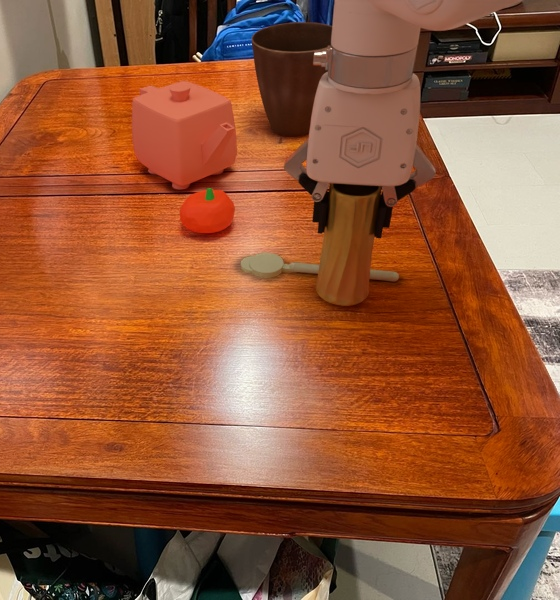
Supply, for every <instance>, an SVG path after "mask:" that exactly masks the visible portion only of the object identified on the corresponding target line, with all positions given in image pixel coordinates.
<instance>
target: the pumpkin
mask: <svg viewBox="0 0 560 600" xmlns="http://www.w3.org/2000/svg"><path fill="white" fill-rule="evenodd" d="M235 211H236V206H235V204H234V201H233V200H232V198H231V197H230V196H229V195H228V194H227V193H226V192H225V191H223V190H222V189H213V188H212V187H211V188H209V187H207V188H206V189H204V190H201V191H197V192H194V193H192V194H190V195H189V196H187V197H186V199H185V200H184V202H183V203H182V205H181V206H180V209H179V221H180V222H181V224H182V225H183V226H184V227H185V228H186V229H187V230H189V231H192V232H194V233H197V234H214V233H219V232H222V231H224V230H226V229H227V228H228V227H229V226H231V225H232V222H233V221H234V216H235Z"/></svg>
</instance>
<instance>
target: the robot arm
mask: <svg viewBox="0 0 560 600" xmlns="http://www.w3.org/2000/svg"><path fill="white" fill-rule="evenodd" d="M524 1H525V0H334V1H333V2H334V3H333V12H332V13H333V14H332V25H331V26H332V36H331V46H328V47H327V49H323V51H322V50H315V51H314V59H313V65H321V67H325V70H328V72H326V73H325V74H323V76H322V77H321V79H320V81H319V84H318V88H317V91H316V95H315V99H314V105H313V110H312V116H311V124H310V131H309V133H308V138H307V139H306V140H305V141H303V143H301V144H300V145H299V147H297V148H296V149H295V150H294V151H293V152H292V153H291V154H290V155H289V156H288V157H286V159H285V160H284V163H283V170H284V171H285V172H286V173H287V174H288V175H290V176H291V178H293V179H294V180H297V182H298V184H299V185H300V186H301V188H302V189H304V190H305V191H306V192H307V193H308V194H309V195H310V197H311V200H312V201H313V207H312V208H313V210H312V220H311V221H312V223H317V224H318V225H317V234H319V235H320V234H321V235H322V234H324V231H325V223H326V214H327V205H328V196H329V186H330V183H337V184H353V185H370V186H381V187H382V189H381V196H380V201H379V207H378V214H377V220H376V227H375V233H374V238H375V239H382V237H383V229H390V227H391V220H392V216H393V211H394V210H393V209H394V207H395V206H396V205H398V202H399V201H401V200H402V199H403V198H405V197H406V196H408V195H410V194H411V193H413V192H414V191H415V190H416V188H418V187H421V186H423V185H424V184H426V183H428V182H430V181H432V180H434V178H435V177H436V168H435V166H434V165H433V163H432V161H430V159H429V158H428V157H427V156H426V154H425V152H424V151H423V150H422V149H421V148H420V146H419V144H418V143H417V141H418V134H419V133H418V131H419V125H420V113H421V82H420V80H419V77H418V75H416V73H414V69H415V65H416V64H415V63H416V57H417V52H418V46H419V39H420V34H421V29H424V30H428V31H434V32H442V31H443V32H445V31H449V30H454V29H457V28H461V27H463V26H465V25H467V24H470V23H473V22H475V21H477V20H480V19H482V18H484V17H486V16H489V15H491V14H494V13H496V12H498V11H501V10H503V9H505V8H508V7H510V6H513V5H516V4H518V3H521V2H524ZM305 161H306V165H303V164H304V162H305ZM305 166H306V167H305ZM413 167H414V169H415V170H414V171H413Z"/></svg>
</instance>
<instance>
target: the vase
mask: <svg viewBox="0 0 560 600" xmlns="http://www.w3.org/2000/svg"><path fill="white" fill-rule="evenodd" d="M328 191H329V196H328V205H327V214H326V223H325V231H324V233H323V237H322V246H321V252H320V258H319V271H318V274H317V279H316V282H315V291H316V294H317V295H318V296H319V298H321V299H322V300H323V301H325V302H327V303H329V304H332V305H336V306H339V307H340V306H342V307H351V306H355V305H358V304H360V303H362V302H364V301H366V299H367V298H368V296H369V293H370V279H369V278H370V269H372V257H373V250H374V244H375V243H374V242H375V237H374V233H375V227H376V220H377V214H378V207H379V201H380V196H381V193H382V187H381V186H370V185H353V184H337V183H330V185H329V187H328Z"/></svg>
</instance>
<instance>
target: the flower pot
mask: <svg viewBox="0 0 560 600" xmlns="http://www.w3.org/2000/svg"><path fill="white" fill-rule="evenodd" d="M331 36H332V25H330V24H325V23H320V22H311V21H310V22H309V21H307V22H306V21H298V22H296V21H295V22H285V23H278V24H273V25H270V26H266V27H263V28H260V29H258V30H257V31H256V32H254V33H253V34H252V36H251V47H252V54H253V63H254V69H255V76H256V82H257V86H258V90H259V95H260V99H261V102H262V103H261V104H262V106H263V109H264V112H265V115H266V118H267V121H268V124H269V127H270V130H271V131H272V132H273V133H274V134H276V135H278V136H282V137H288V138H289V137H290V138H294V137H295V138H296V137H302V136H306V135H309V131H310V124H311V116H312V110H313V105H314V99H315V95H316V91H317V88H318V84H319V81H320V79H321V77H322V76H323V74H325V73H326V72H328V70H325V67H321V65H313V59H314V51H315V50H322V51H323V49H327V47H328V46H331Z"/></svg>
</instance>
